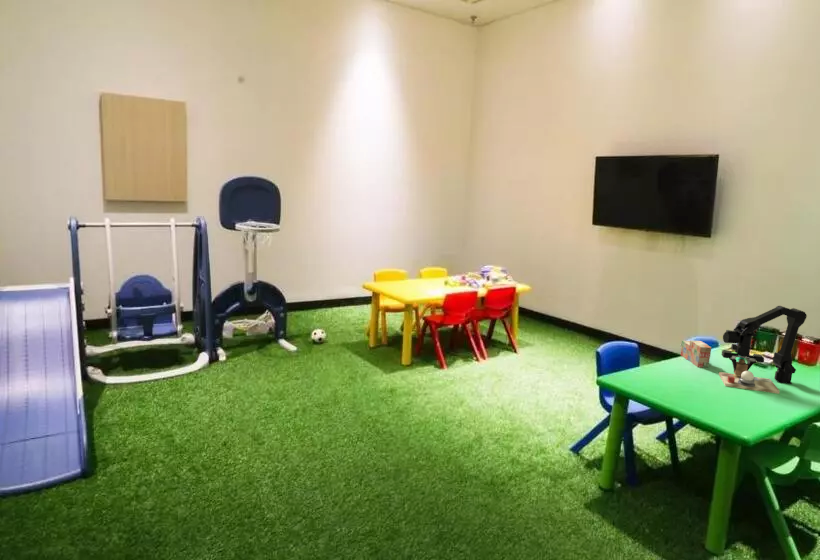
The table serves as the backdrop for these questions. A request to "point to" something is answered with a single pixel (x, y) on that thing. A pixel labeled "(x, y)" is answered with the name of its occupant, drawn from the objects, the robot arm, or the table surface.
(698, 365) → the stack of blocks
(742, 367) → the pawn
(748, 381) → the dome
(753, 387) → the game board
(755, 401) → the table surface
